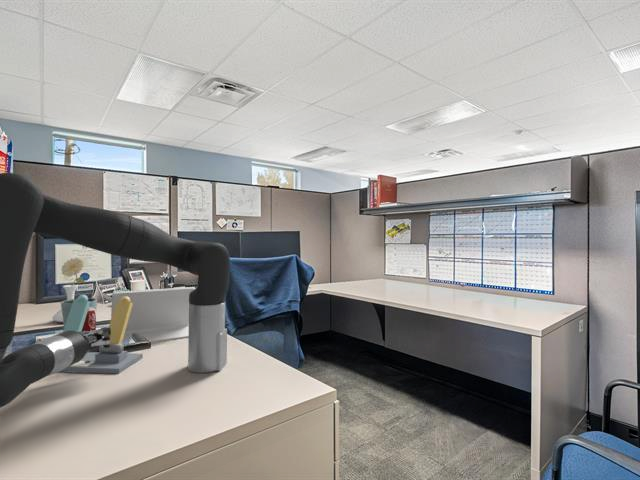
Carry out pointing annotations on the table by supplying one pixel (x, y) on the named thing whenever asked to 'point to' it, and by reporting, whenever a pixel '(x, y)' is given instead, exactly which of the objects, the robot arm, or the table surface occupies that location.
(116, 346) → the ochre lever
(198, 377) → the table surface
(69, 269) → the flower in vase
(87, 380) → the table surface
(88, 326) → the soda can
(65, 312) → the grey teal bucket
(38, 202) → the robot arm
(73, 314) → the teal lever
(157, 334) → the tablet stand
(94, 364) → the console
